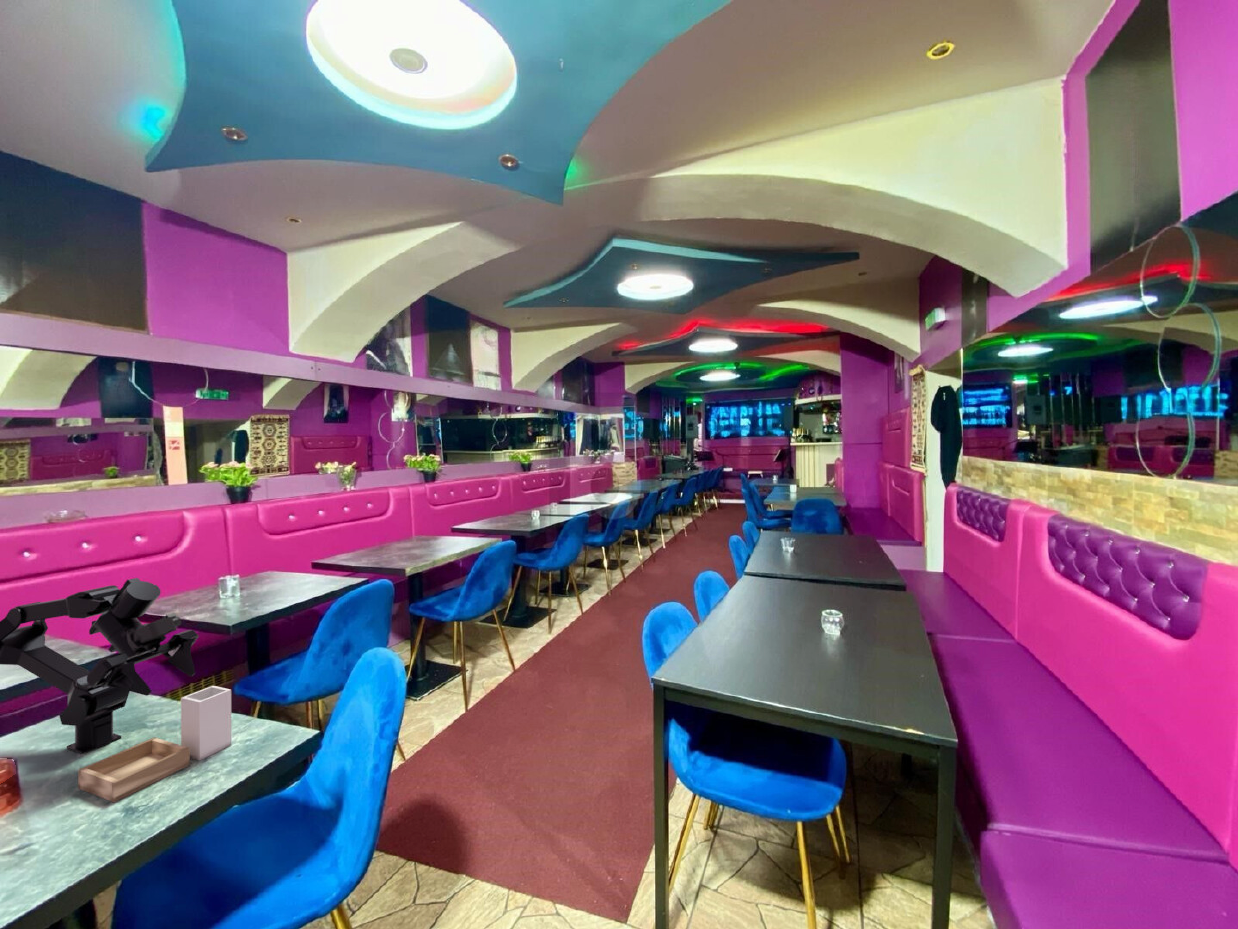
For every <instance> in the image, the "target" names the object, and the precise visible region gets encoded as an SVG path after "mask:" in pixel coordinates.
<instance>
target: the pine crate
mask: <svg viewBox="0 0 1238 929" xmlns="http://www.w3.org/2000/svg"><path fill="white" fill-rule="evenodd" d="M190 759H191V758H190V756H189V748H188V747H185V746H181V744H178V743H174V742H171V741H168V740H165V739H162V738H161V739H160V738H158V737H152V738H150V739H148V740H145V741H143V742H141V743H138V744H135V745H133V746H131V747H129V748H127V749H124V750H122V751H118V752H117V753H114V754H112V755H110V756H108V757H104V758H102V759H100V760H97V761H95V762H93V763H91V764H89V765H87V766H84V767H82V768H78V769H77V770H78V771H77V774H78V775H77V778H78V779H77V780H78V782H77V783H78V786H77V788H78V789H79V790H81V791H84V792H86V793H89V794H91V795H94V796H97V797H99V798H102V799H105V800H107V801H109V802H112V803H117V802H119V801H121V800H123V799H124V798H126V797H128V796H130V795H133V794H136V792H138V791H140V790H142V789H144V788H147V787H148V786H150V785H152V784H154V783H156V782H159V781H160V780H162V779H164V778H167V777H169V776H170V775H172V774H175V773H178V772H179V771H180V770H183V769H185V768H187V767H189V766H190V764H191V763H190V762H191V761H190Z"/></svg>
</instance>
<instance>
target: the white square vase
mask: <svg viewBox="0 0 1238 929" xmlns="http://www.w3.org/2000/svg"><path fill="white" fill-rule="evenodd" d="M180 714H181V715H180V723H181V724H180V728H181V729H180V737H181V738H180V739H181V741H180V745H181V746H185V747H188V748H189V756H190V759H193V760H197V761H202V760H204V759H206V758H208V757H210V756H212V755H214V754H216V753H218V752H220V751H222V750H224V749H226V748H228V747H230V746H232V689H229V688H225V687H221V686H216V685H211V686H208V687H206V688H204V689H201V690H198V691H196V692H193V693H190V694H187V695H185V696H182V697H181V698H180Z"/></svg>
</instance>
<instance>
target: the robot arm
mask: <svg viewBox="0 0 1238 929" xmlns="http://www.w3.org/2000/svg"><path fill="white" fill-rule="evenodd" d="M161 592H162V591H161V589H160V586H158V585H157V584H154V583H151V582H149V581H144V580H140V578H139V577H136V578H130V579H126V580H125V582H124V583H123V585H122V586H121V588H118V586H117V585H113V584H112V585H107V586H106V585H105V586H102V587H98V588H97V587H96V588H91V589H88V590H83V591H78V592H76V593H73V594H71V595H68V596H66V597H65V598H58V599H54V600H48V601H37V602H36V601H35V602H31V603H26V604H21V605H17V606H14V607H13V608H11V609H10V610H8V612H7V614H6V616H4V618H3V619H1V620H0V665H5V666H6V665H7V666H8V665H9V666H19V667H21V668H22V669H24V670H26V671H28V672H29V673H31V674H33V675H34V676H36V677H38V678H40V679H41V680H43V681H44V682H45V683H48V684H49V685H51V686H53V687H54V688H56V689H58V690H59V691H61V692H63V693H65V694H66V695H67V706H66V707H65V709H63V711H62V712H61V713H60V714H59V719H60V723H61V726H62V725H63V726H73V727H74V743H71V744H68V745H67V746H66V749H67V750H69V751H72V752H75V753H79V754H80V755H81V754H87V753H89V752H91V751H94V750H96V749H98V748H101V747H104V746H106V745H108V744H110V743H113V742H115V741H116V742H117V741H118V740H121V739H122V735H120V734H117V733H114V711H117V710H119V709H122V708H124V707H126V704H127V701H128V698H129V695H130V692H131V693H135V694H138V695H143V696H149V695H150V694H151V693H152V690H151V688H150V686H149V685H148V684H147V683H146V682H145V680H144V678H142V677H141V676H140V675H139V674H138V672H137V671H136V667H135V665H136V664H138V663H142V662H144V661H147V660H150V659H153V658H155V657H158V656H161V655H163V656H164V657H165V658H169V659H167V662H168V663H170V664H171V665H173V666H174V667H176V668H177V669H178V670H179V671H180V672H182V673H184V674H186V675H187V676H190V677H193V676H194V675H195V674H196V669H195V666H194V663H193V659H192V658H193V657H192V653H191V652H192V651H191V650H192V646H193V645H194V644H195V643H196V641H197V639H198V638H199V637H200V635H199V634H197V632H196V631H195V630H194V629H187V630H184V631H181V632H178V633H176V634H173V635H172V636H171V637H170V639H168V641H167V642H166V643H164V644H161V642H162V643H163V642H164V641H165V640H166V638H167V636H166V635H168V634H169V633H172V632H175V631H177V630H178V627H179V626H181V625H182V620H181V617H179V616H178V615H177V613H175V612H172V613H169V614H166V615H165V616H163V617H161V619H158V620H156V621H155V620H154V621H152V622H150V623H149V622H147V623H142V622H141V621H140V620H139V619H138V618H140V617H142V616H143V615H145V614H146V613H147V611H148V610H149V609H150V608H151V606H152V605H153V604H154V602H156V600H157V599H158V598H159V596H161ZM99 615H100V616H99ZM65 616H66V617H68V618H70V619H86V618H90V617H94V616H98V618H97V619H95V620H93V621H91V626H90V628H89V630H88V633H89V635H90V636H91V635H95V634H98V633H100V634H101V635H102V636H103V637H104V638H105V640H107V642H109V644H110V646H109V647H108V648H107V649H108V651H109V652H110V653H114V652H118V653H116V654H113V655H110V656H107V657H104V658H100V660H99V661H97V663H96V664H95V665H94V666H93V668H92V669H91V670H90V671H89V670H88V669H86V668H84V667H83V666H81V665H80V664H77V663H76V662H74V661H73V660H70V659H69V658H68V657H65V655H62V654H60V653H59V652H57V651H55V650H54V649H52V648H51V647H48V646H47V645H45V644H46V635H45V634H46V633H47V631H48V630H49V627H48V625H47V622H46V620H47V619H51V618H52V619H53V618H59V617H65ZM31 622H32V624H31V625H25V626H23V627H22V626H21V625H22V624H26V623H31ZM20 626H21V627H20Z"/></svg>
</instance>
